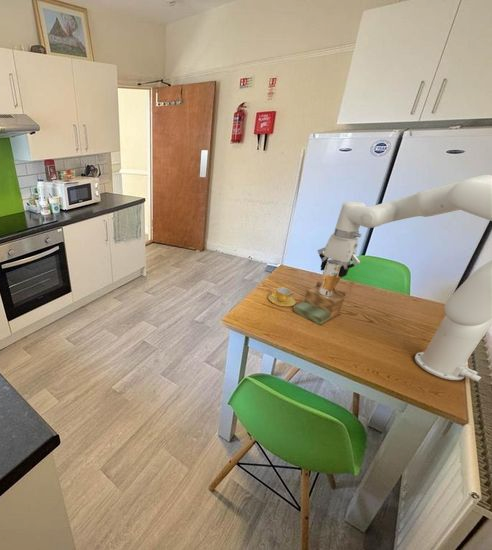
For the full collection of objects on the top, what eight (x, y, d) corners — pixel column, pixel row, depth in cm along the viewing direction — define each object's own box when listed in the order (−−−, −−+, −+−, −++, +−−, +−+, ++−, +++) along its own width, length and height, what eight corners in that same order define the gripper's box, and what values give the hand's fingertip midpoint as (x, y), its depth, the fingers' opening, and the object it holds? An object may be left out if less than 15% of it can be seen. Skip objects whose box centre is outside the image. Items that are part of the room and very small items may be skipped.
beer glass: (313, 290, 133) (322, 259, 126) (326, 288, 134) (336, 258, 127) (325, 298, 127) (335, 266, 120) (339, 296, 128) (350, 264, 121)
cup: (292, 295, 147) (294, 285, 144) (298, 308, 136) (301, 298, 134) (266, 292, 149) (268, 283, 147) (270, 305, 139) (272, 295, 137)
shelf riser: (339, 313, 132) (346, 292, 127) (319, 324, 125) (327, 302, 120) (312, 301, 141) (318, 281, 136) (293, 311, 134) (298, 290, 129)
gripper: (375, 237, 113) (359, 278, 121) (328, 226, 126) (317, 263, 134) (365, 241, 109) (350, 283, 117) (317, 229, 123) (307, 267, 131)
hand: (332, 272), depth 126 cm, fingers closed on beer glass, 7 cm apart
